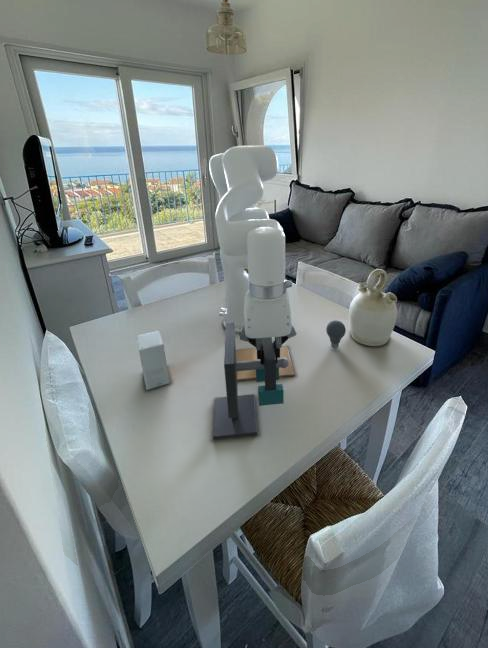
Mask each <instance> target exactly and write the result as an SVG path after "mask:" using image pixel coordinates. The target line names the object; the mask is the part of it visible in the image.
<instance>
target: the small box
mask: <svg viewBox="0 0 488 648" xmlns="http://www.w3.org/2000/svg"><path fill="white" fill-rule="evenodd" d="M136 341H137V348H138V354H139V358H140V362H141V368H142V369H141V370H142V374H143V379H144V384H145V385H144V386H145V390H146V391H148V390H152V389H155V388H158V387H161V386H165V385H168V384H170V383H171V382H170V381H171V380H170V375H169V369H168V363H167V358H166V357H167V356H166V350H165V344H164V340H163V337H162V334H161V331H160V330H155V331H150V332H146V333H142V334H137V335H136Z"/></svg>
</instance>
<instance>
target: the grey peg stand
mask: <svg viewBox="0 0 488 648" xmlns="http://www.w3.org/2000/svg"><path fill="white" fill-rule="evenodd" d="M224 335H225V336H224V358H223V359H224V360H223V365H224V366H223V367H224V380H225V390H226V396H222V397H221V396H220V397H215V399H214V401H215V403H214V416H213V429H212V440H213V441H214V440H224V439H233V438H241V437H243V438H244V437H252V436H258V429H257V428H258V425H257V414H256V405H255V403H256V402H255V401H256V400H255V394H254V393H253V394H252V393H251V394H241V395H239V394H238V390H239V389H238V381H237V371H245V370H257V369H264V364H263V365H261V362H260V360H256V361H244V362H237V359H236V350H237V346H236V332H235V328H234V322H230V323H226V328H225V334H224ZM288 364H289V361H288V359H287V358H285V357H282V358H280V359H277V363H276V368H280V367H281V368H286V367H287V366H288Z"/></svg>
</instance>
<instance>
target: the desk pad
mask: <svg viewBox="0 0 488 648" xmlns="http://www.w3.org/2000/svg"><path fill="white" fill-rule="evenodd" d="M282 357H285V358H287V359H288V361H289V364H288V366H287V367H286V368H281V367H280V368H279V378H286V377H295V372H294V367H293V364H292V360H291V357H290V352H289V347H288V346H287V345H283V346H282V347H281V348H280V358H282ZM280 358H277V359H280ZM236 359H237V362H244V361H256V360H260V359H257V349H256V347H254V348H242V349H236ZM252 380H256V370H245V371H237V382H240V381H252Z"/></svg>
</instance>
